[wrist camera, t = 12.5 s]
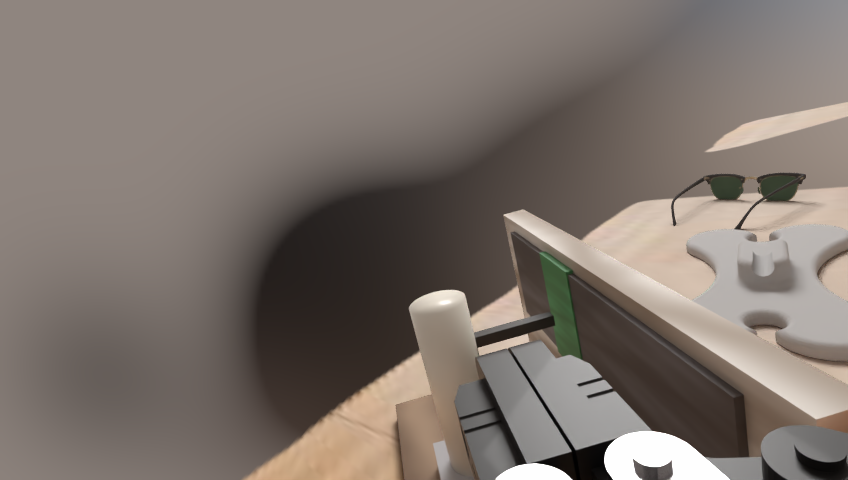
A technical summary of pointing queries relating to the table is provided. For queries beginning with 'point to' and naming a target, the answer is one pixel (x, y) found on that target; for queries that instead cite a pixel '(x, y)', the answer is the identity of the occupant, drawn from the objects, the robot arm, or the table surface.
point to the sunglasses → (770, 187)
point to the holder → (778, 285)
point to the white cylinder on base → (456, 364)
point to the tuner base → (648, 355)
